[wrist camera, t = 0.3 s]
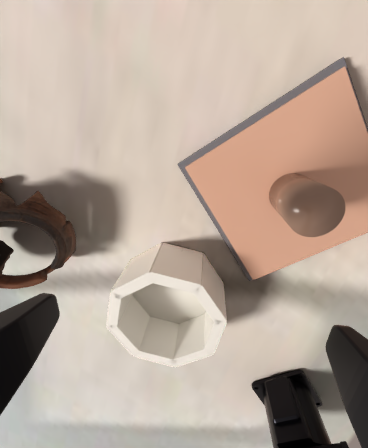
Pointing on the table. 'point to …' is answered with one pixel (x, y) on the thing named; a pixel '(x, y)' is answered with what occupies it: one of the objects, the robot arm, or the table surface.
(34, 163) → the table surface
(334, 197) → the lid
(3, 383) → the robot arm
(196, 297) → the bowl
